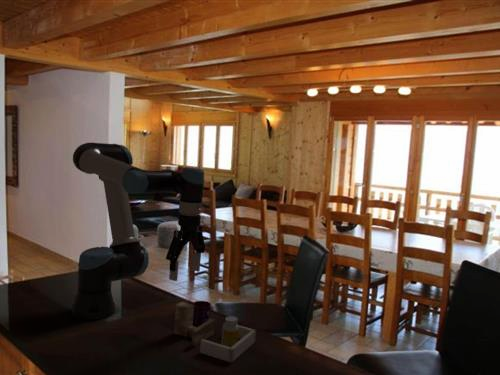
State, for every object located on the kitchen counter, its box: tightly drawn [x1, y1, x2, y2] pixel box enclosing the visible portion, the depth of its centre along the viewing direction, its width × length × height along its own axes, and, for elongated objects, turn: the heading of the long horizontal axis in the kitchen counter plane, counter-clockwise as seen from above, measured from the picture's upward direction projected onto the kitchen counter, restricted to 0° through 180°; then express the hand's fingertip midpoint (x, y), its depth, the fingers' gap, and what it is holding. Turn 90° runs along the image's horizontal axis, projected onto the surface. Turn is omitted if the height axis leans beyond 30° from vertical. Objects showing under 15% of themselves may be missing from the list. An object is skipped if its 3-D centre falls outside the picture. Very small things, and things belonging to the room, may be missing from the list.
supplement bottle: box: [220, 315, 239, 347], centre depth 141 cm, size 5×5×10 cm
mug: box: [187, 300, 212, 326], centre depth 160 cm, size 7×10×7 cm
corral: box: [199, 324, 257, 364], centre depth 141 cm, size 11×17×4 cm, turn 155°
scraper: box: [173, 301, 216, 347], centre depth 147 cm, size 11×12×10 cm
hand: (184, 275), depth 148 cm, fingers open, 13 cm apart
